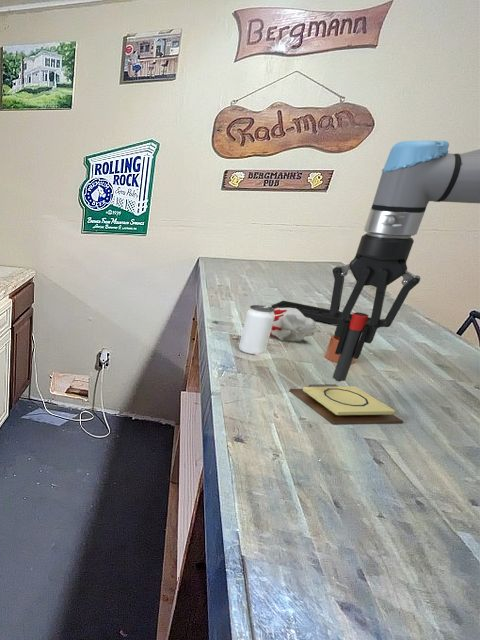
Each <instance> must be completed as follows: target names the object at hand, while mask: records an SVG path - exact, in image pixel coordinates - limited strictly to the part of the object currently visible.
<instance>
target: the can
mask: <svg viewBox="0 0 480 640" xmlns="http://www.w3.org/2000/svg"><path fill="white" fill-rule="evenodd" d="M271 307H272V306H268V305H262V304H252V305H250V306H249V309H248V310H247V311H246V315H245V319H244V322H243V327H242V331H241V336H240V340H239V344H238V349H239V351H240V352H242V353H244V354H248V355H251V356H256V355H262V354H265V353H266V351H267V348H268V343H269V340H270V337H271V336H270V333H271V329H272V325H273V321H274V317H275V314H274V309H273V308H271Z"/></svg>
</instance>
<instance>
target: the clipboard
mask: <svg viewBox="0 0 480 640" xmlns="http://www.w3.org/2000/svg"><path fill="white" fill-rule="evenodd" d="M307 387H340V386H339V385H337V384H335V383H328V384H326V383H324V384H323V383H322V384H320V383H319V384H316V383H315V384H312V383H311V384H308V386H307ZM289 392H290V393H291V394H292V395H293V396H296V397H297V398H298V399H299V400H300V401H302V402H303V403H304V404H305V405H307V406H308V407H310V408H311V409H312V410H313V411H315V412H316V413H317V414H318V415H320V416H321V417H323V418H324V419H325V420H327V422H329V423H331V425H383V424H384V425H385V424H386V425H389V424H391V425H392V424H393V425H394V424H403V423H404V420H403V419H401V418H399V417H398V416H397V415H395V414H388V415H336V414H334V413H333V412H332V411H330V410H329V409H328V408H326V407H325V406H324V405H322V404H321V403H319V402H318V401H317V400H315V399H314V398H313V397H311V396H310V395H309V394H307V393H306V392H304V391H303V388H289Z"/></svg>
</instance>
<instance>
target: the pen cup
mask: <svg viewBox="0 0 480 640" xmlns="http://www.w3.org/2000/svg"><path fill="white" fill-rule="evenodd" d="M339 339H340V337H336V336H335V334H332V335H331V336H330V338H329V342H328V346H327V349H326V352H325V354H324V358H325V359H326V360H327V361H330V362H333V363H336V364H337V362H338V359H339V356H340V354H339V355H338V354H335V352H336V349H337V346H338V342H339ZM358 343H359V342H358ZM357 346H358V345H357ZM356 349H357V348H356ZM355 362H356V359H355V358H353V360H352V362H351V365H353V364H355Z"/></svg>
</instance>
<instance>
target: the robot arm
mask: <svg viewBox="0 0 480 640" xmlns="http://www.w3.org/2000/svg"><path fill="white" fill-rule="evenodd" d="M449 148H450V142H448V141H447V140H405V141H404V140H403V141H402V140H401V141H399V142H397V143H395V144H394V145H393V146H392V147H391V149H390V150H389V153H388V156H387V159H386V161H385V164H384V166H383V168H382V170H381V175H380V179H379V182H378V185H377V189H376V192H375V195H374V198H373V202H372V205H371V208H370V210H369V213H368V216H367V219H366V222H365V225H364V228H363V231H364V232H366V233H365V234H363V235H362V236H361V238H360V241H359V243H358V247H357V249H356V253H355V256H354V258H353V259H352V260H351V261H350V262H349V263H348V264H343V265H336V266H334V268H333V269H332V275H333V279H334V282H333V289H332V294H331V299H330V300H331V301H330V306H329V308H330V309H329V310H330V312H329V315H330V316H331V317H334V318H336V319H337V320H338V324H337V325H336V328H335V330H334V334H333V335H335V336H336V337H340V339H339V342H338V346H337V349H336V352H335V354H338V355H339V354H340V353H341V350H342V347H343V344H344V341H345V338H346V335H347V332H348V329H349V325H350V321H349V320H347V319H348V317H349V315H350V314H352V311H353V309H354V307H355V305H356V303H357V301H358V299H359V297H360V295H361V293H362V291H363V289H364V288H365V287H366V286H371V287H374V288H376V289H375V295H374V300H373V304H372V305H373V306H372V310H371V311H372V312H371V316H370V318H371V321H370V324H366V325H365V327H364V329H363V331H362V334H361V337H360V339H359V343H358V346H357V349H356V351H355V354H354V357H353V358H355V360H359V358H360V357H361V354H362V351H363V348H364V345H365V343H366V344H372V342H373V341H374V339H375V336H376V333H377V330H378V329H379V328H389V327H391V326H392V324H393V322H394V320H395V318H396V316H397V315H398V313H399V311H400V309H401V307H402V306H403V304H404V302H405V300H406V298H407V297H408V295H409V293H410V291H411V290H412V289H414V288H415V287H416V286H417V285H418V284H419V283H420V282H421V276H419V275H415V274H414V273H412V272H410V271H409V270H408V266H407V261H408V258H409V256H410V254H411V251H412V247H413V244H414V241H415V240H414V238H413V237H414V236H415V235H417V234H418V231H419V229H420V227H421V223H422V221H423V218H424V215H425V212H426V210H427V207H428V204H429V203H430V202H434V203H440V202H442V203H444V202H445V203H461V204H463V203H464V204H480V148H479V149H474V150H471V151H467V152H464V153H451V152H450V150H449ZM449 152H450V153H449ZM349 271H351V273H352V276H353V278H354V280H355V282H356V283H355V285H354V287H353V289H352V291H351V294H350V295H349V297H348V299H347V301H346V303H345V306H344V308H343V310H342V311H340V307H341V301H342V296H343V289H344V283H345V277H346V276H348V274H349ZM401 277H402V280H401V285H403V286H402V287H401V288H400V291H399V293H398V294H397V296H396V297H395V299H394V301H393V304H392V305H391V307H390V309H389V311H388V313H387V314H386V316H385V318H381V316H382V312H383V307H384V301H385V296H386V291H387V287H388V286H389V285H391V284H392V283H394V282H395V281H396V280H398V279H399V278H401Z"/></svg>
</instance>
